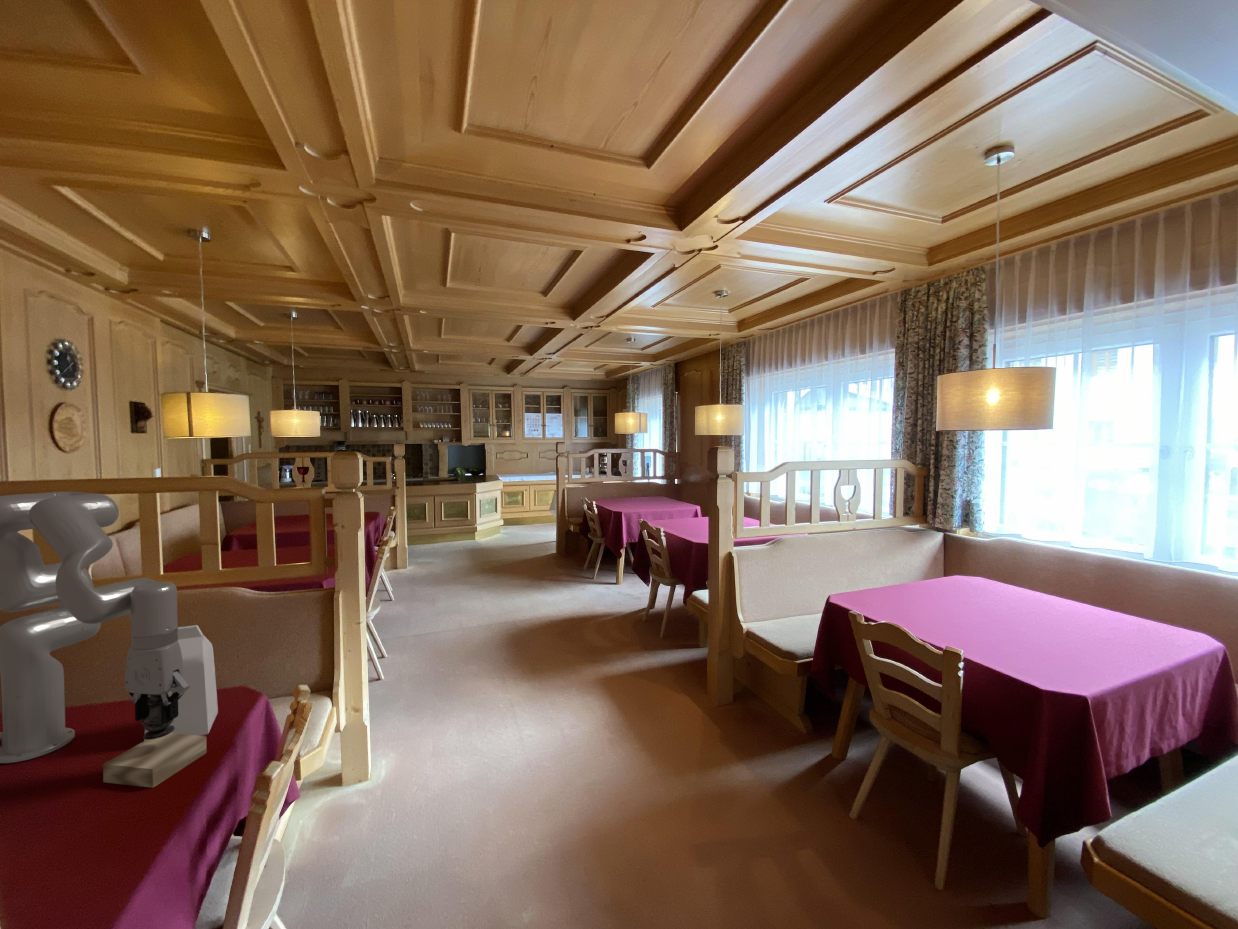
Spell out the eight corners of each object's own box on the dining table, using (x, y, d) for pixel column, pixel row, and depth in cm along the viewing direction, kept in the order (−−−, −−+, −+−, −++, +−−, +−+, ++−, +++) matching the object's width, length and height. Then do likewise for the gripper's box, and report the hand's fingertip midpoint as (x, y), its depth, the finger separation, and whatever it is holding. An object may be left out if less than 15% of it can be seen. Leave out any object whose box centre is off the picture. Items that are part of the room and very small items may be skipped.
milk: (143, 747, 118) (142, 639, 117) (159, 723, 128) (157, 624, 127) (208, 733, 124) (207, 631, 123) (218, 711, 134) (217, 617, 133)
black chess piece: (136, 743, 108) (135, 688, 107) (147, 729, 113) (145, 677, 112) (172, 736, 110) (170, 683, 110) (180, 722, 115) (179, 672, 115)
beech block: (103, 782, 106) (103, 764, 106) (161, 748, 118) (161, 731, 118) (153, 787, 105) (152, 769, 105) (206, 753, 117) (206, 736, 117)
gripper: (102, 643, 108) (104, 725, 108) (172, 648, 106) (174, 731, 106) (139, 630, 115) (141, 707, 116) (205, 635, 113) (207, 712, 114)
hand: (157, 718), depth 111 cm, fingers closed on black chess piece, 5 cm apart
